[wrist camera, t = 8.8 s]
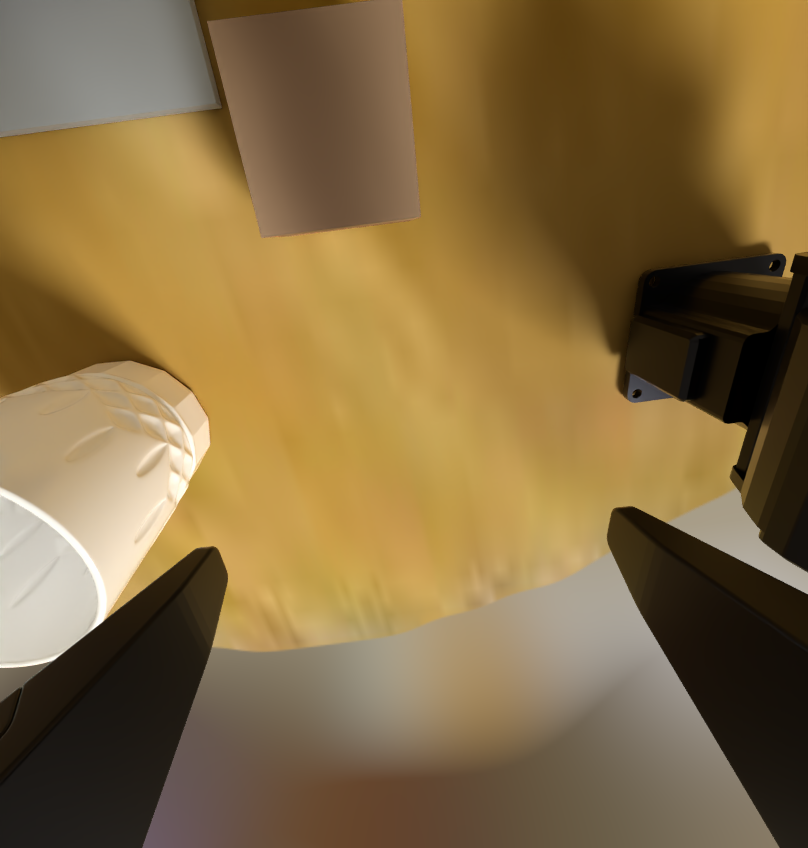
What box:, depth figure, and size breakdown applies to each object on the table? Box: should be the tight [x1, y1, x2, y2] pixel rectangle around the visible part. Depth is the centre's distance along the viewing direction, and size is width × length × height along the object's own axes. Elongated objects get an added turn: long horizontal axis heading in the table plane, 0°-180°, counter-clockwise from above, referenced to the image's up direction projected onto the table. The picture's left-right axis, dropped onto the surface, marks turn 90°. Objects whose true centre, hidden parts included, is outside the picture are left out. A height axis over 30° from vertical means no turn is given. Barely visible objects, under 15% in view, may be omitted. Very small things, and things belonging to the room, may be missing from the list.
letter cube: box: [207, 0, 421, 238], centre depth 13 cm, size 5×5×5 cm
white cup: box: [0, 361, 210, 668], centre depth 15 cm, size 8×8×10 cm
